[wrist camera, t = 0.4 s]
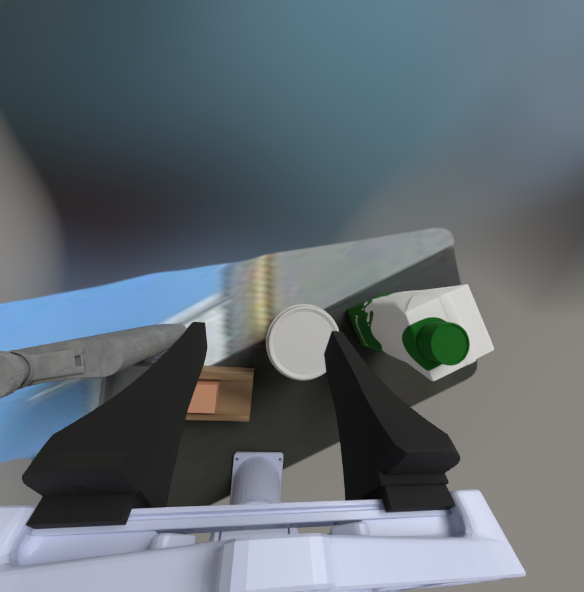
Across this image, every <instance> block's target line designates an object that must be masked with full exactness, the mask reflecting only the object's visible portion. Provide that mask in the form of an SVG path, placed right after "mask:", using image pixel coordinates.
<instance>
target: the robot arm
mask: <svg viewBox="0 0 584 592" xmlns="http://www.w3.org/2000/svg"><path fill="white" fill-rule="evenodd" d="M206 352H207V339H206V328H205V323H202V322H193V323H191V325H190V326H189V327H188V328H187V329H186V331H185V332H184V333H183V334H182V335H181V336H180V338H179V339H178V340H177V341H176V342H175V343H174V344H173V345H172V346H171V347H170V348H169V349H168V351H167V352H166V353H165V354H164V355H163V356H162V357H160V358H159V359H158V360H157V361H156V362H155V363H154V364H153V365H152V366H151V367H150V368H149V369H148V370H147V371H145V372H144V373H143V374H142V375H141V376H140V377H138V378H137V379H136V380H135V381H133V382H132V383H131V384H130V385H128V386H127V387H126V388H124V389H123V390H122V391H121V392H119V393H118V394H116V395H115V396H114V397H112V398H111V399H109V400H108V401H106V402H105V403H103V404H102V405H100V406H99V407H98V408H96V409H95V410H93V411H92V412H90V413H88V414H87V415H85V416H84V417H82V418H80V419H79V420H77V421H75V422H74V423H72V424H70V425H69V426H67V427H65V428H64V429H62V430H60V431H58V432H57V433H55V434H53V435H52V436H51V438H50V439H49V440H48V441H47V443H46V444H45V445H44V446H43V447H42V449H41V450H40V452H39V453H38V454H37V456H36V457H35V459H34V460H33V461H32V463H31V464H30V466H29V467H28V469H27V470H26V471H25V473H24V474H23V475H22V480H23V483H24V484H26V485H27V486H28V487H30V488H31V489H33V490H34V491H36V492H37V493H39V494H40V495H42V496H43V497H42V499H41V501H40V502H39V504H38V506H37V507H35V506H28V505H17V506H0V592H393V591H403V590H412V589H422V588H431V587H440V586H449V585H461V584H471V583H481V582H488V581H496V580H503V579H509V578H516V577H523V576H526V572H525V571H524V569H523V567H522V565H521V564H520V562H519V560H518V558H517V556H516V554H515V553H514V551H513V549H512V547H511V546H510V544H509V542H508V540H507V538H506V537H505V536H504V533H503V531H502V530H501V528H500V526H499V524H498V522H497V521H496V519H495V517H494V515H493V514H492V512H491V510H490V508H489V506H488V505H487V503H486V501H485V499H484V498H483V496H482V494H481V492H480V491H479V490H456V491H451V492H449V490H448V489H447V486H446V484H448V480H447V477H446V475H445V472H447V471H448V470H450V469H451V468H453V467H454V466H455V465H457V464H458V463H459V461H460V456H459V454H458V452H457V450H456V448H455V446H454V444H453V443H452V441H451V439H450V438H449V436H448V435H447V434H446V433H445V432H443V431H442V430H440V429H439V428H437V427H436V426H435V425H433V424H432V423H430V422H429V421H427V420H426V419H425V418H423V417H422V416H421V415H419V414H418V413H417V412H416V411H414V410H413V409H412V408H411V407H409V406H408V405H407V404H406V403H405V402H404V401H402V400H401V399H400V398H399V397H398V396H397V395H396V394H394V393H393V392H392V391H391V390H390V389H389V388H388V387H387V386H386V385H385V384H384V383H383V382H382V381H381V380H380V379H379V378H378V377H377V376H376V374H375V373H374V372H373V371H372V370H371V369H370V368H369V366H368V365H367V364H366V363H365V361H364V360H363V359H362V358H361V356H360V355H359V354H358V353H357V351H356V350H355V349H354V347H353V346H352V345H351V343H350V342H349V340H348V339H347V338H346V336H345V335H344V334H343V332H342V331H332V332H331V335H330V338H329V341H328V344H327V347H326V350H325V352H324V358H325V367H326V373H327V377H328V381H329V385H330V389H331V393H332V397H333V401H334V406H335V410H336V416H337V423H338V429H339V437H340V445H341V453H342V463H343V474H344V485H345V501H319V502H294V503H282V502H281V479H282V467H283V453H281V452H236V453H235V454H234V461H233V472H232V483H231V495H230V505H216V506H190V507H166V505H167V500H168V495H169V490H170V485H171V480H172V475H173V471H174V466H175V462H176V457H177V453H178V448H179V444H180V440H181V436H182V431H183V427H184V423H185V419H186V415H187V412H188V408H189V405H190V402H191V399H192V397H193V394H194V391H195V388H196V385H197V383H198V380H199V377H200V374H201V371H202V368H203V365H204V361H205V357H206ZM236 458H238V460H236ZM279 458H281V460H279ZM338 525H339V526H338ZM319 526H334V527H332V528H331V529H330V533H329V534H327V535H325V534H320V533H307V534H298V530H297V528H300V527H319ZM206 532H211V536H210V541H209V542H204V543H195V541H196V537H195V535H186V534H188V533H206Z"/></svg>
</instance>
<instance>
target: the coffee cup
mask: <svg viewBox="0 0 584 592" xmlns="http://www.w3.org/2000/svg"><path fill="white" fill-rule="evenodd" d="M332 331H339V329H338V327H337V325H336V323H335V321H334V320H333V318H332V317H331V316H330V315H329V314H328V313H327V312H325V311H324V310H322V309H321V308H319V307H316V306H313V305H308V304H299V305H294V306H291V307H289V308H286V309H285V310H283V311H282V312H280V313H279V314H278V315H277V316H276V317H275V318H274V320H273V321H272V323H271V325H270V326H269V329H268V332H267V336H266V350H267V354H268V357H269V359H270V361H271V363H272V364H273V366H274V367H275V368H276V369H277V370H278V371H279V372H280V373H281V374H283V375H285V376H286V377H289V378H291V379H295V380H311V379H314V378H317V377H319V376H321V375H323V374H324V373H326V367H325V358H324V352H325V350H326V347H327V344H328V341H329V338H330V335H331V332H332Z"/></svg>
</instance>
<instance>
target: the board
mask: <svg viewBox="0 0 584 592" xmlns="http://www.w3.org/2000/svg"><path fill="white" fill-rule="evenodd" d="M253 377H254V368H241V367H221V366H203V368H202V371H201V374H200V377H199V380H213V381H220V385H219V396H218V407H217V409H216V412H215V413H187V415H186V419H185V420H214V421H249V419H250V411H251V400H252V389H253Z"/></svg>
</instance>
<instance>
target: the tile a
mask: <svg viewBox="0 0 584 592" xmlns="http://www.w3.org/2000/svg"><path fill="white" fill-rule="evenodd" d="M219 385H220V381H213V380H198V383H197V385H196V388H195V391H194V394H193V397H192V399H191V402H190V405H189V408H188V412H187V413H215V412H216V409H217V407H218V396H219Z"/></svg>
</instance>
